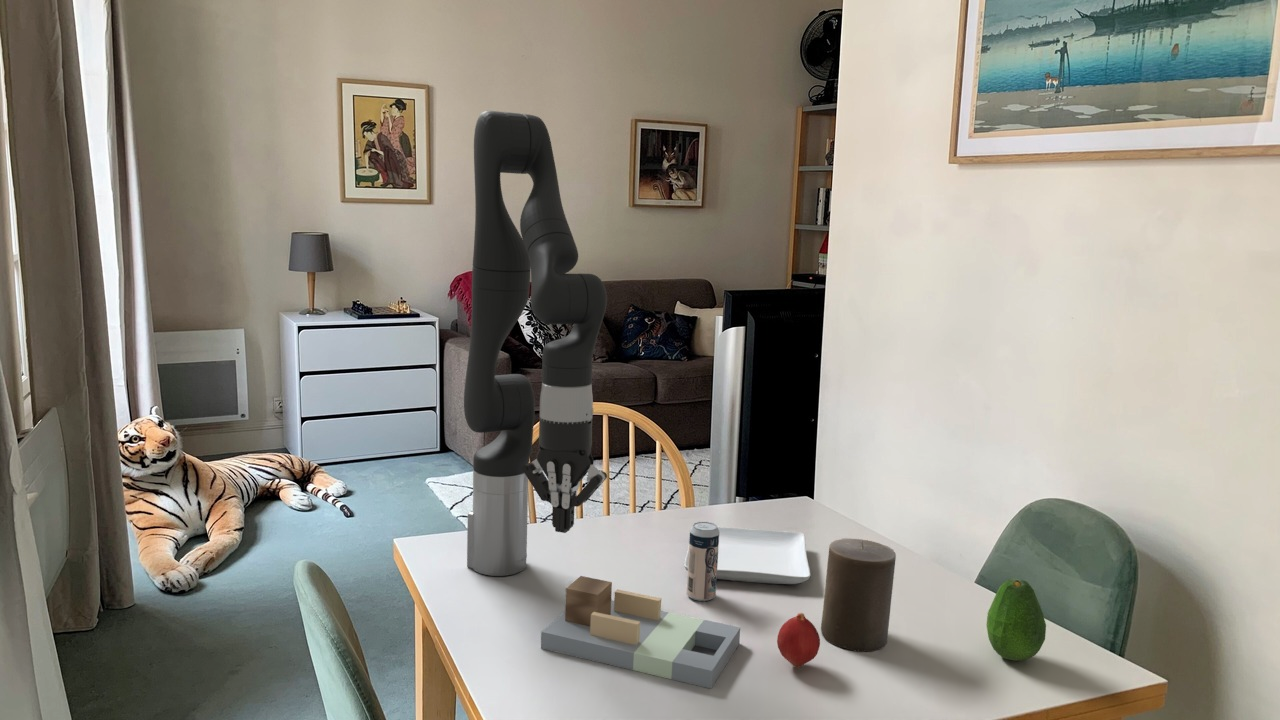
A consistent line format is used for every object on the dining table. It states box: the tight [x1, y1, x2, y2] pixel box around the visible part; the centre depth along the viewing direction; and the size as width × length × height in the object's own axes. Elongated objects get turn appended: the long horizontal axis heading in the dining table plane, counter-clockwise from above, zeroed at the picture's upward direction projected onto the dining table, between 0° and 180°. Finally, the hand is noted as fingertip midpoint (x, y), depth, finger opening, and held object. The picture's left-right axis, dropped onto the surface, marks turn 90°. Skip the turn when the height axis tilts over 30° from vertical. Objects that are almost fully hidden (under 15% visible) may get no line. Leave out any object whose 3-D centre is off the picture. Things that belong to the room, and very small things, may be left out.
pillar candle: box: [820, 537, 897, 652], centre depth 136 cm, size 10×10×15 cm
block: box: [564, 575, 613, 626], centre depth 134 cm, size 5×5×5 cm
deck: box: [540, 589, 741, 689], centre depth 131 cm, size 25×14×6 cm, turn 69°
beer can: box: [686, 521, 720, 602], centre depth 148 cm, size 5×5×12 cm
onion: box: [776, 612, 821, 668], centre depth 127 cm, size 6×6×8 cm
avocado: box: [986, 577, 1047, 662], centre depth 131 cm, size 8×8×12 cm
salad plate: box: [683, 526, 811, 585], centre depth 163 cm, size 21×21×3 cm
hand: (563, 530), depth 134 cm, fingers closed
